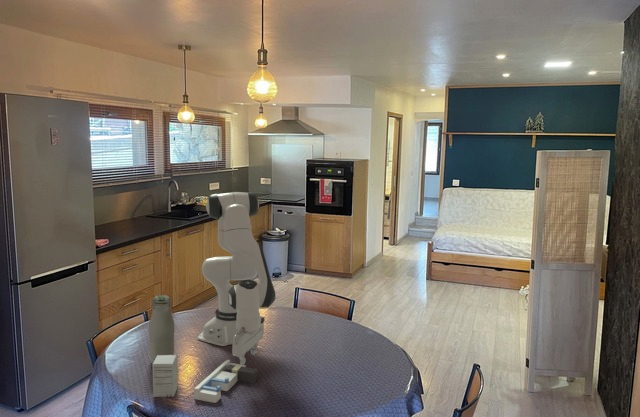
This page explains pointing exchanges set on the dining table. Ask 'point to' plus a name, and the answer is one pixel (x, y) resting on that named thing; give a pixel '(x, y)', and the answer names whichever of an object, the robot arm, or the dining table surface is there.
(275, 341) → the dining table surface
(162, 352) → the glass bottle
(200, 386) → the white angular block assembly
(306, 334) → the dining table surface
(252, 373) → the banded gray post
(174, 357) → the supplement box
